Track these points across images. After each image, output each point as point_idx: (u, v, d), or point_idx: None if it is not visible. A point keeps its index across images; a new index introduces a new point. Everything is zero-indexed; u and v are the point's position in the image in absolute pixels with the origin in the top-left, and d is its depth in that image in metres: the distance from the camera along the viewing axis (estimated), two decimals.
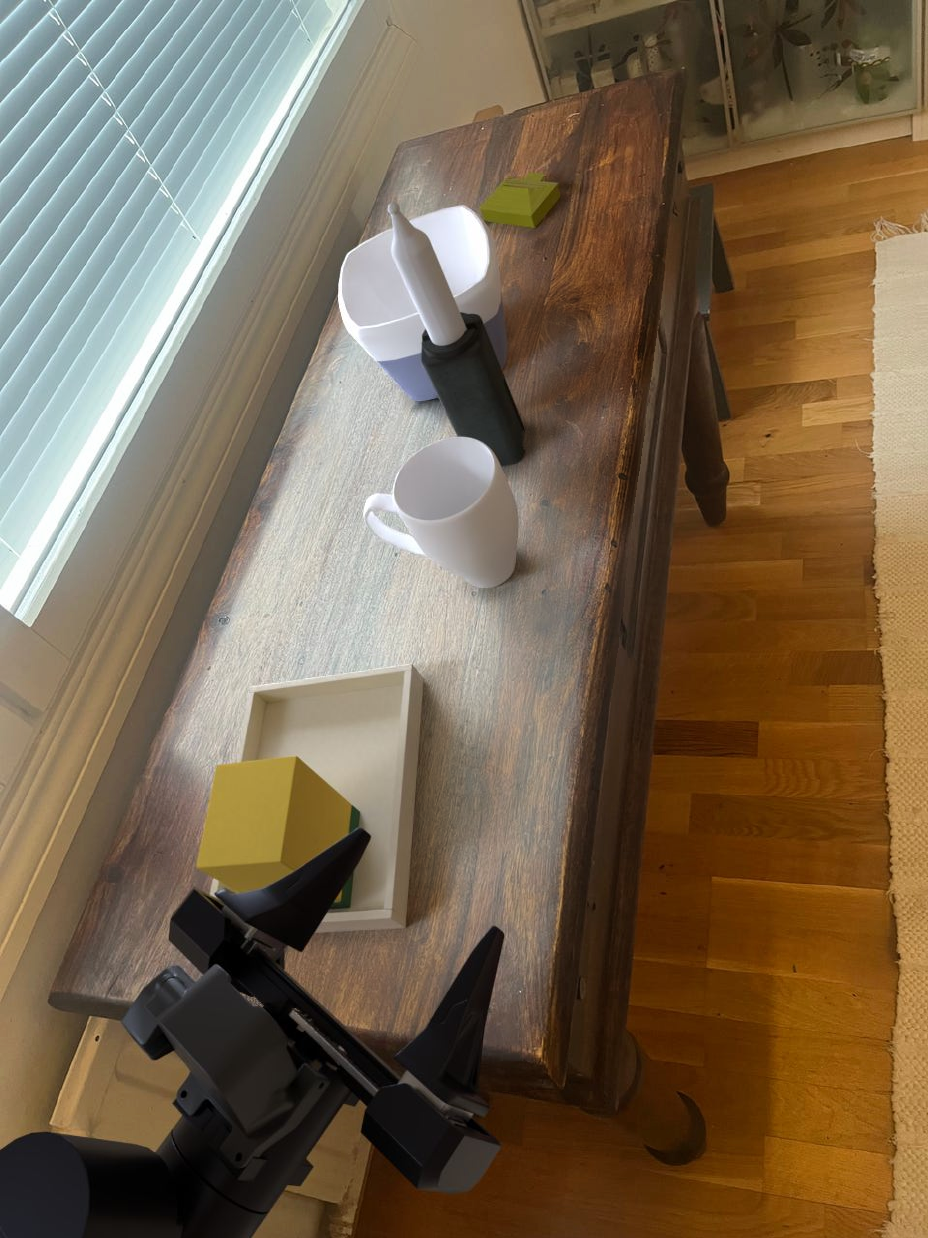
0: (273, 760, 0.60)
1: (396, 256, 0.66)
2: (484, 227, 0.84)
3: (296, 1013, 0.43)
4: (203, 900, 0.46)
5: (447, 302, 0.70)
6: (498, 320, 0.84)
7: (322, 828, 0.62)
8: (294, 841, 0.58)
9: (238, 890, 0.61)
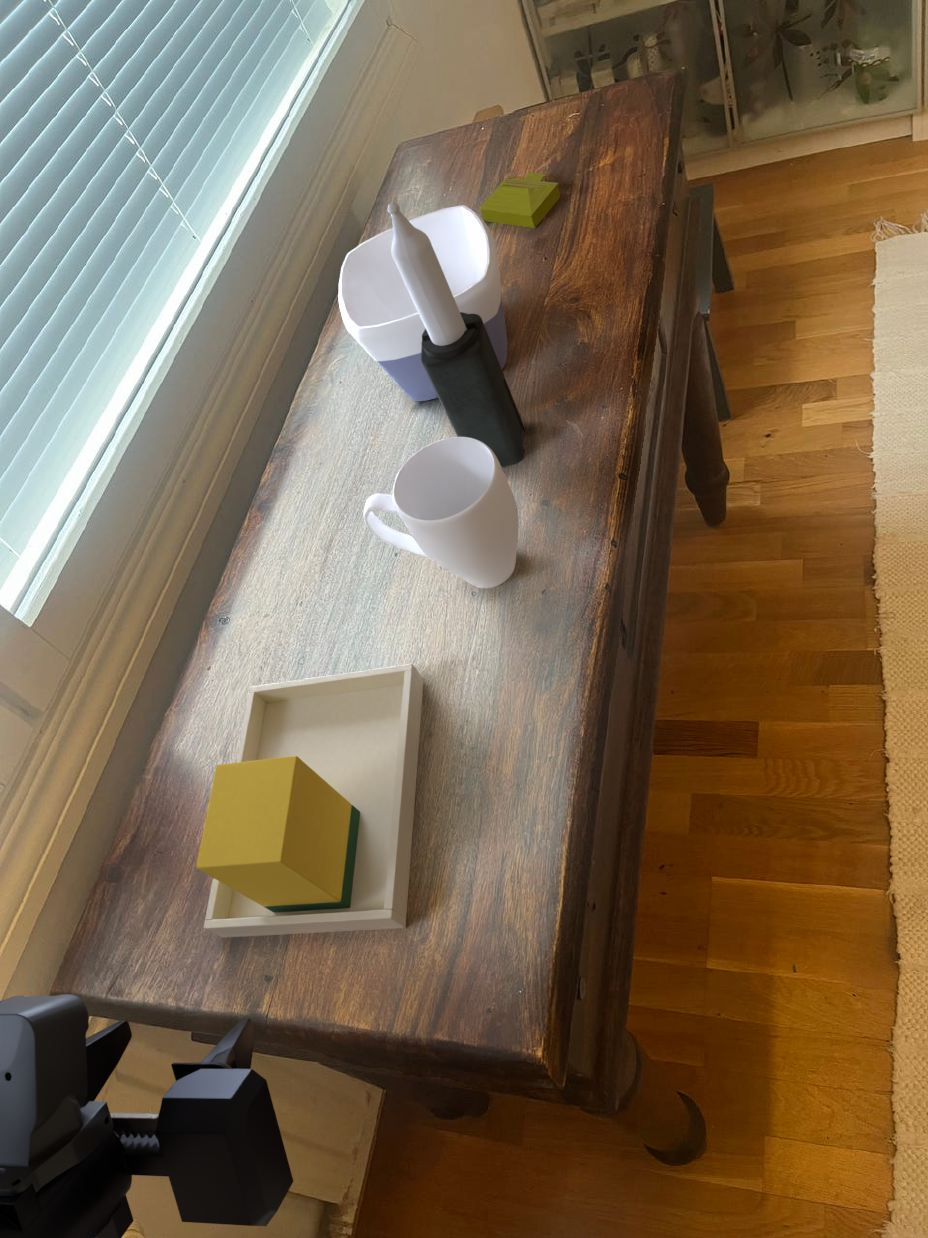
0: (273, 760, 0.60)
1: (396, 256, 0.66)
2: (484, 227, 0.84)
3: None
4: None
5: (447, 301, 0.70)
6: (498, 320, 0.84)
7: (322, 828, 0.62)
8: (294, 841, 0.58)
9: (238, 890, 0.61)
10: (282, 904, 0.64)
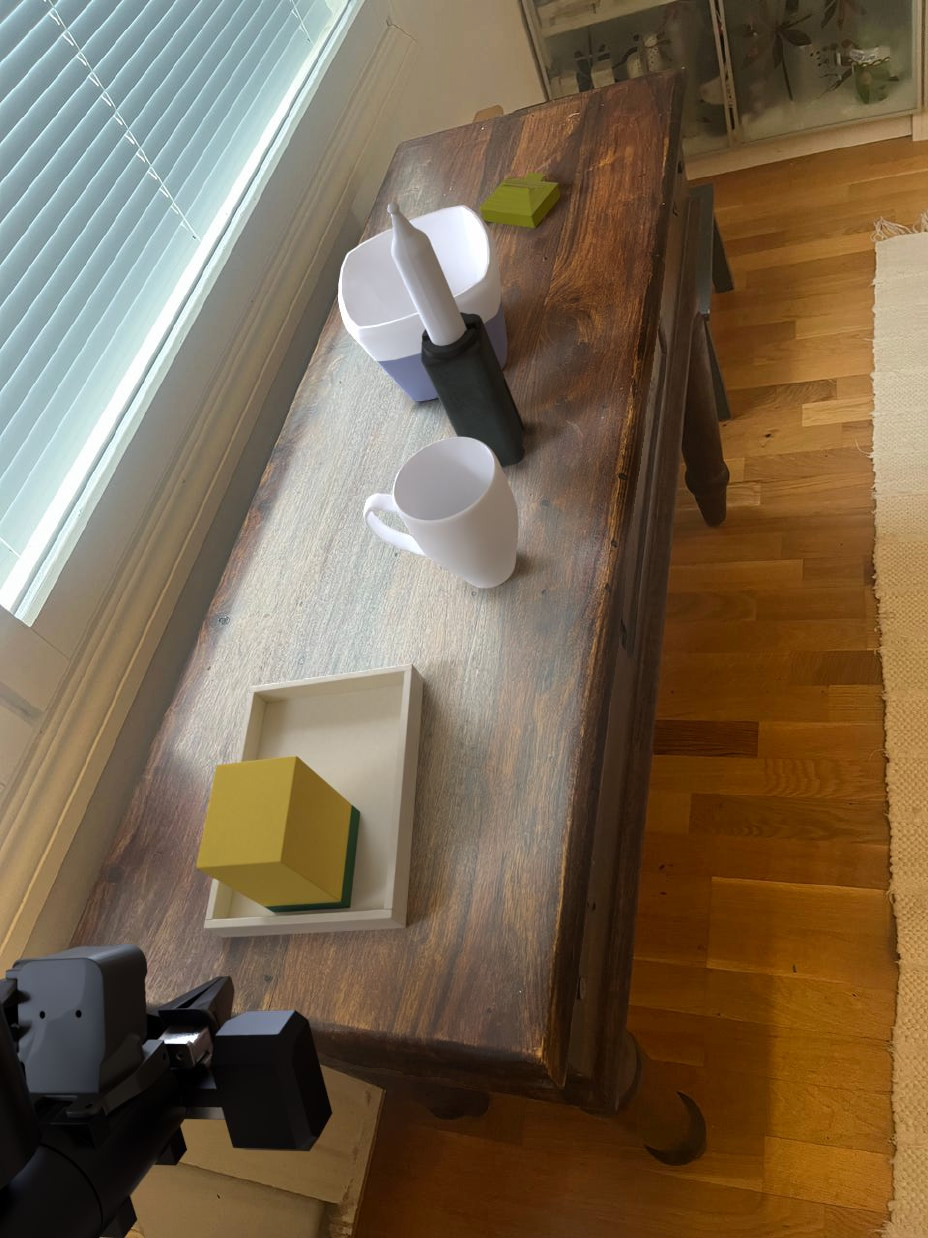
0: (273, 760, 0.60)
1: (396, 256, 0.66)
2: (484, 227, 0.84)
3: None
4: None
5: (447, 301, 0.70)
6: (498, 320, 0.84)
7: (322, 828, 0.62)
8: (294, 841, 0.58)
9: (238, 890, 0.61)
10: (282, 904, 0.64)
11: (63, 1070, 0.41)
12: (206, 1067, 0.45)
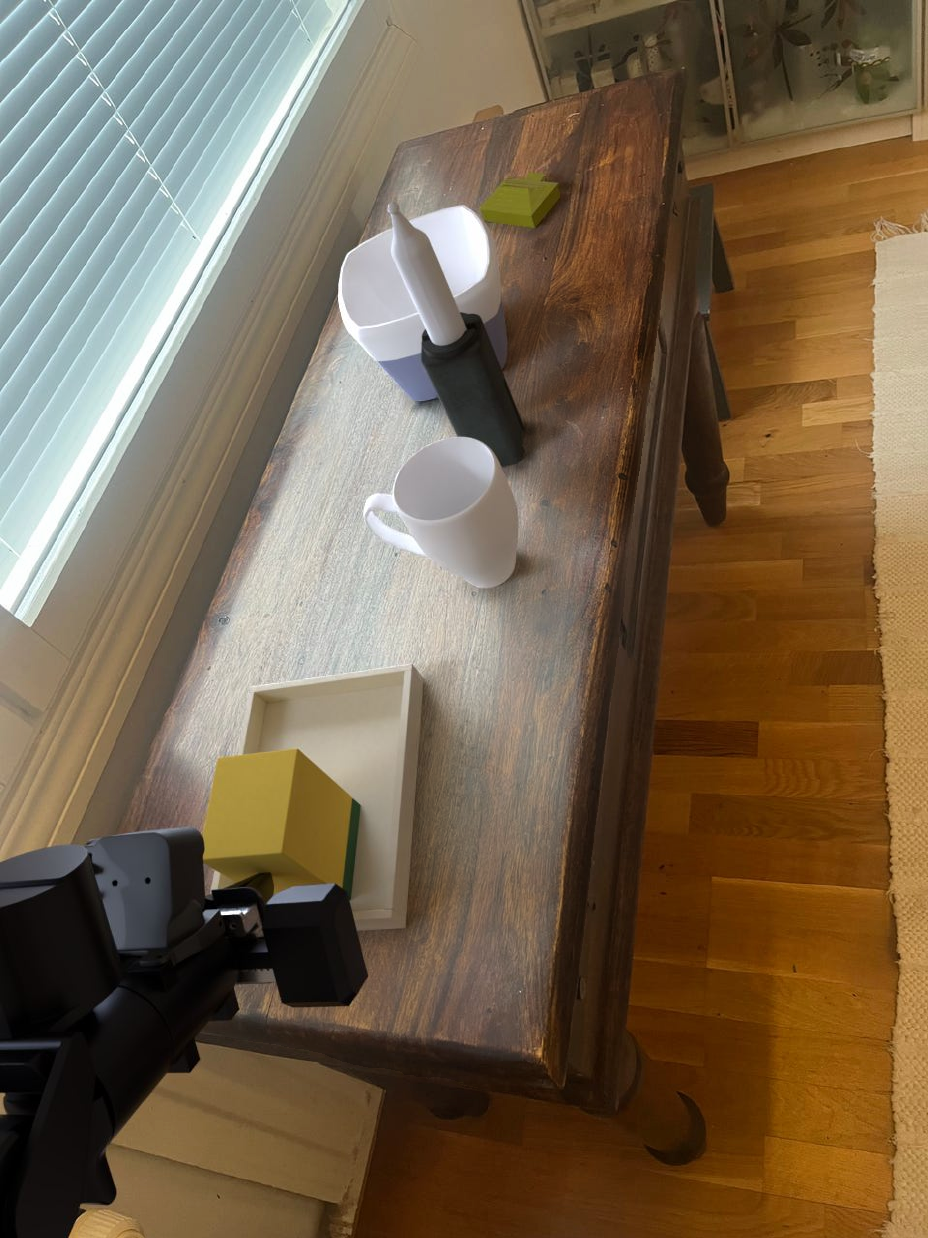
0: (274, 753, 0.60)
1: (396, 256, 0.66)
2: (484, 227, 0.84)
3: None
4: None
5: (447, 301, 0.70)
6: (498, 320, 0.84)
7: (323, 820, 0.62)
8: (295, 833, 0.58)
9: None
10: None
11: (134, 929, 0.47)
12: (256, 936, 0.51)
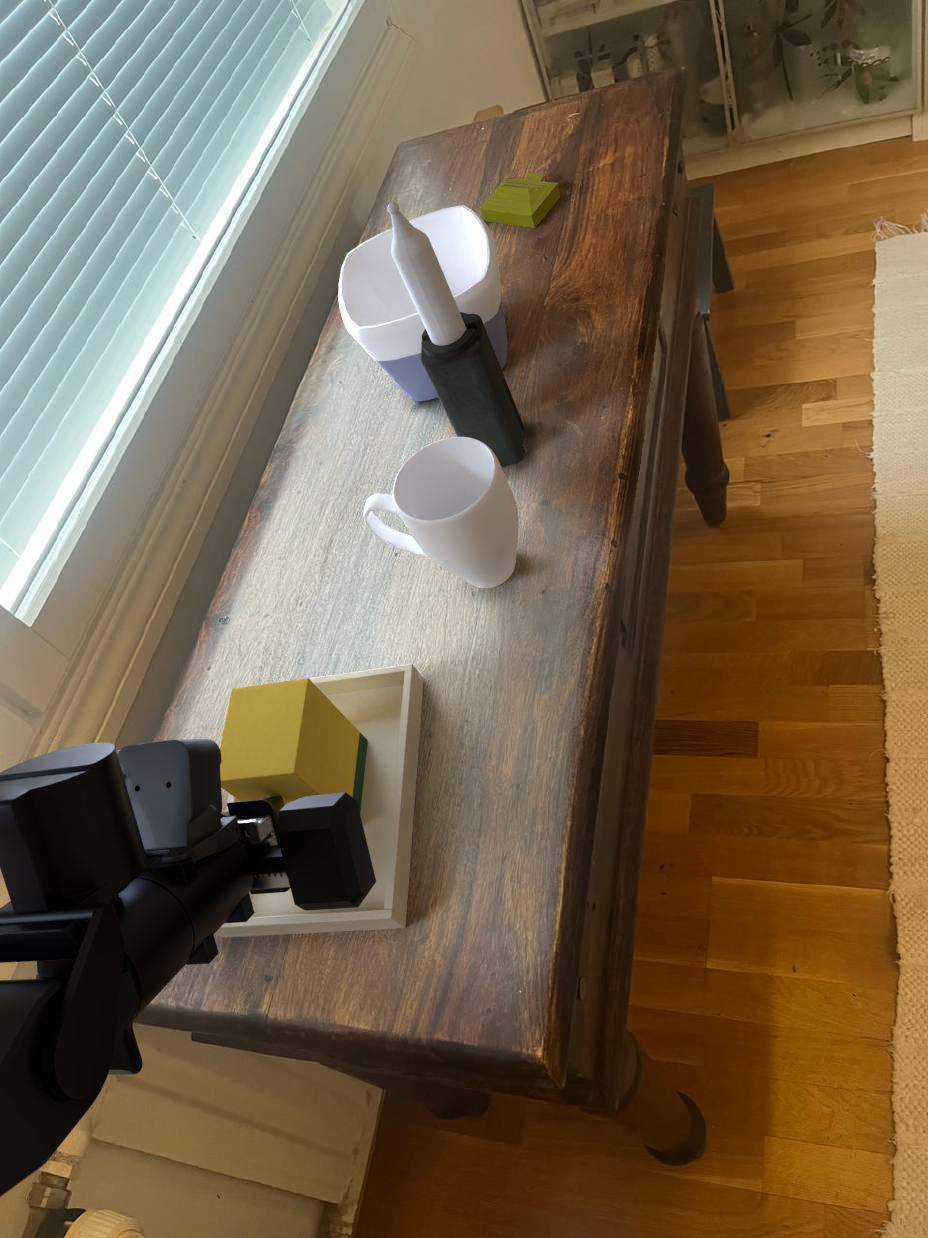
0: (286, 682, 0.63)
1: (396, 256, 0.66)
2: (484, 227, 0.84)
3: None
4: None
5: (447, 301, 0.70)
6: (498, 320, 0.84)
7: (332, 748, 0.65)
8: (307, 756, 0.61)
9: None
10: None
11: (156, 831, 0.50)
12: (270, 844, 0.54)
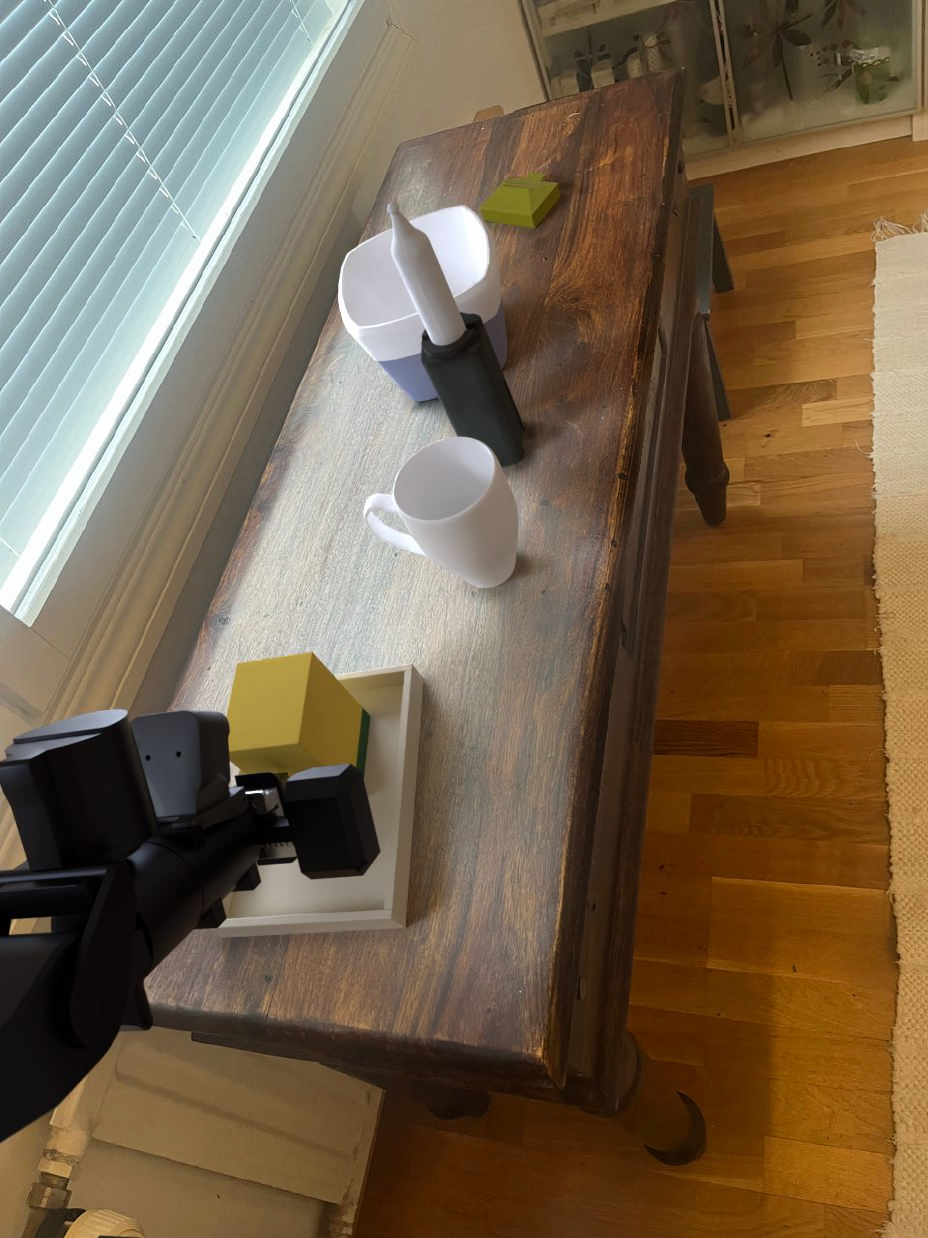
0: (290, 656, 0.64)
1: (396, 256, 0.66)
2: (484, 227, 0.84)
3: None
4: None
5: (447, 301, 0.70)
6: (498, 320, 0.84)
7: (336, 722, 0.66)
8: (311, 728, 0.62)
9: None
10: None
11: (166, 799, 0.51)
12: (276, 815, 0.55)
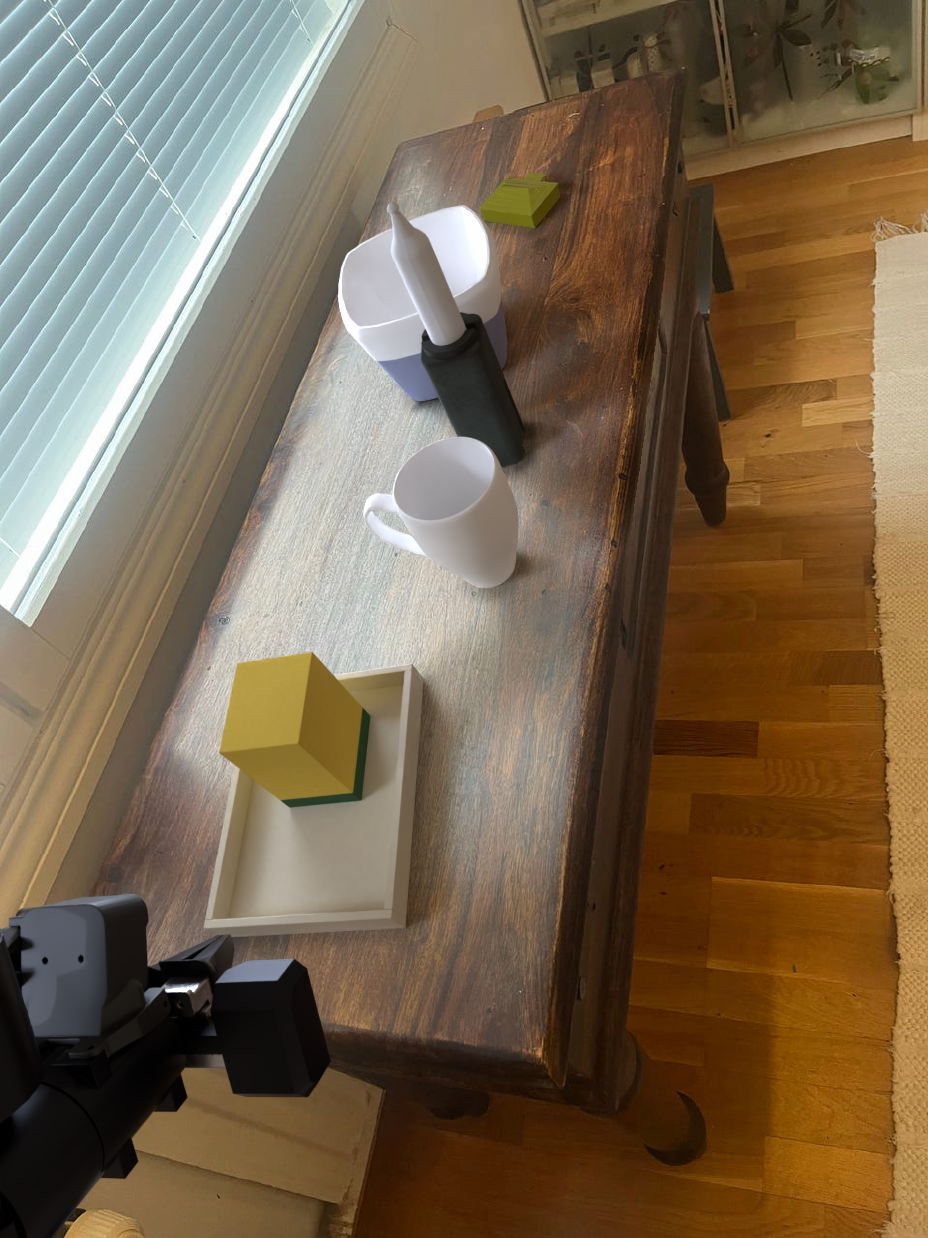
0: (290, 656, 0.64)
1: (396, 256, 0.66)
2: (484, 227, 0.84)
3: None
4: None
5: (446, 301, 0.70)
6: (498, 320, 0.84)
7: (336, 722, 0.66)
8: (311, 728, 0.62)
9: (257, 780, 0.66)
10: (298, 797, 0.68)
11: (65, 1014, 0.42)
12: (206, 1016, 0.46)
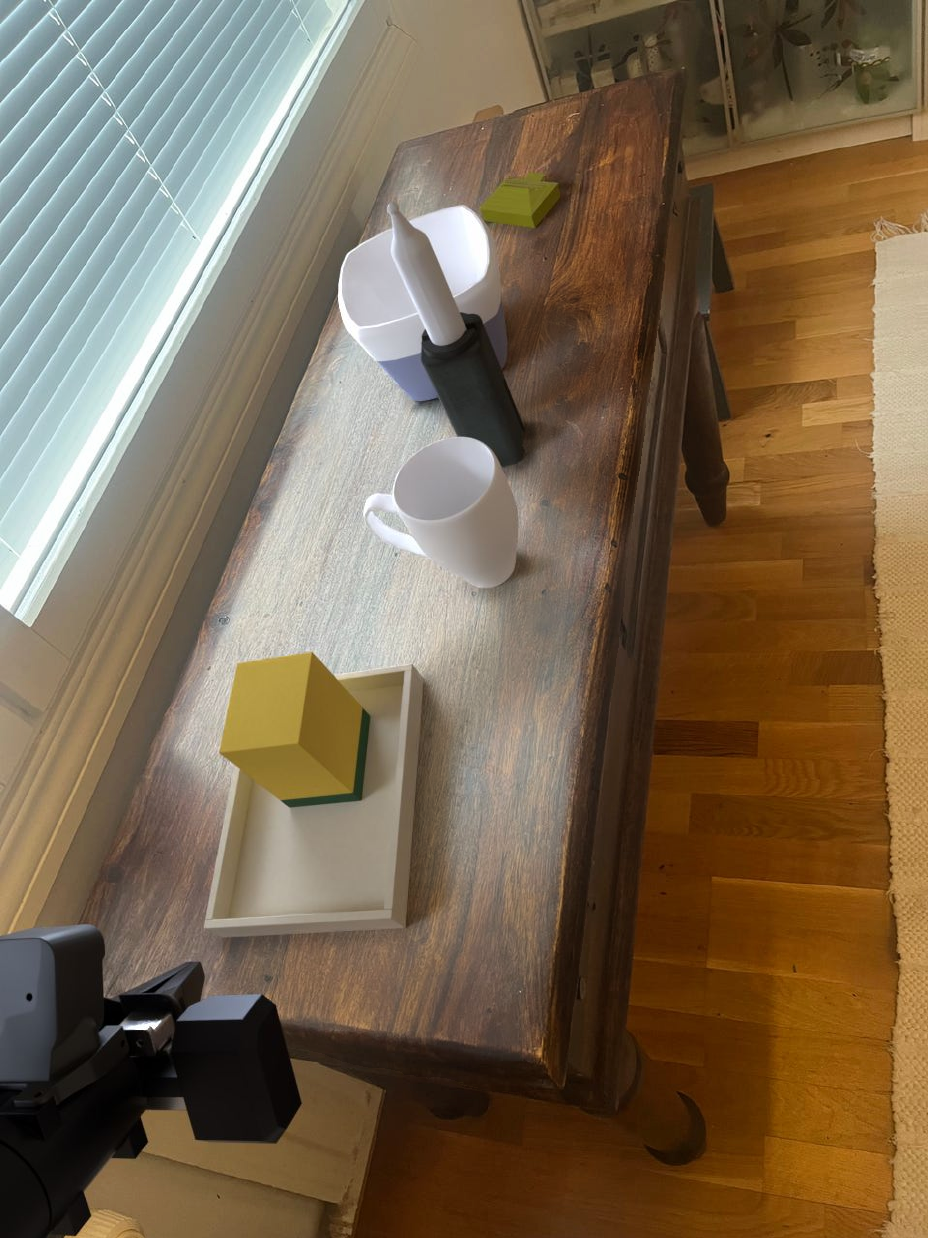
0: (290, 656, 0.64)
1: (396, 256, 0.66)
2: (484, 227, 0.84)
3: None
4: None
5: (446, 301, 0.70)
6: (498, 320, 0.84)
7: (336, 722, 0.66)
8: (311, 728, 0.62)
9: (257, 780, 0.66)
10: (298, 797, 0.68)
11: (13, 1057, 0.39)
12: (168, 1055, 0.43)
